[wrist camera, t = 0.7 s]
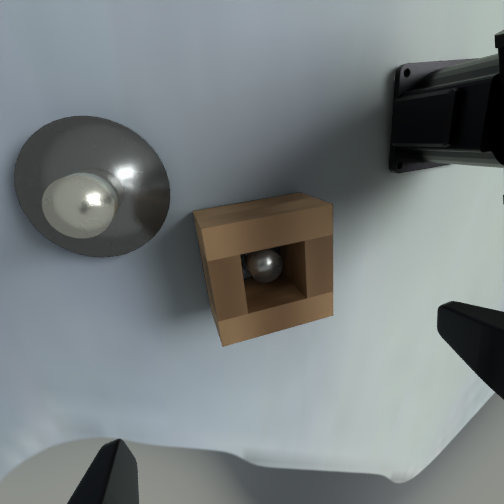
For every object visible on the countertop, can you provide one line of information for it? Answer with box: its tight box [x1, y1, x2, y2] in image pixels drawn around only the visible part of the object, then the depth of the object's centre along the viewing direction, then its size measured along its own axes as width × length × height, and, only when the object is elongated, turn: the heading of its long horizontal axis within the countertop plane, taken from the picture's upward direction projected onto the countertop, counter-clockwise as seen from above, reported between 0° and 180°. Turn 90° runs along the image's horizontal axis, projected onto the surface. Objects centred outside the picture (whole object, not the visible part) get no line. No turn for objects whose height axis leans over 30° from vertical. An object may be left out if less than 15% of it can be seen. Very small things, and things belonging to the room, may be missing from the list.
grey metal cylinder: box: [240, 248, 283, 283], centre depth 18 cm, size 2×2×2 cm
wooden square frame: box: [193, 193, 333, 347], centre depth 18 cm, size 7×7×4 cm
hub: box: [14, 116, 170, 257], centre depth 13 cm, size 7×7×5 cm
